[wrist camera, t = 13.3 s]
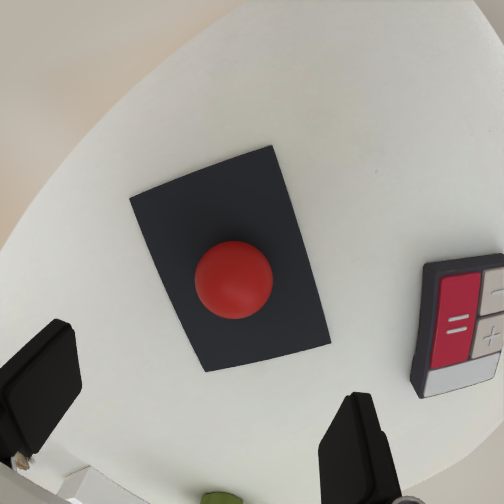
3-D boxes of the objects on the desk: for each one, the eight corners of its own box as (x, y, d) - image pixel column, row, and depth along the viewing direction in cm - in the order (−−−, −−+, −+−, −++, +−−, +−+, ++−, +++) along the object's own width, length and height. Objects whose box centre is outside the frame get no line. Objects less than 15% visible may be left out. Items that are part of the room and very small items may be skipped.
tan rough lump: (27, 452, 53) (41, 471, 48) (11, 466, 48) (25, 487, 42) (0, 423, 49) (12, 441, 44) (-17, 438, 43) (-7, 458, 38)
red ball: (194, 241, 29) (171, 274, 23) (261, 220, 27) (253, 251, 22) (220, 299, 31) (205, 340, 25) (283, 284, 30) (280, 325, 24)
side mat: (130, 197, 29) (128, 198, 28) (272, 145, 26) (271, 145, 26) (205, 370, 34) (205, 372, 33) (330, 341, 32) (331, 343, 31)
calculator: (522, 261, 23) (496, 381, 27) (499, 251, 28) (481, 364, 31) (438, 274, 25) (420, 404, 28) (420, 261, 29) (408, 382, 32)
